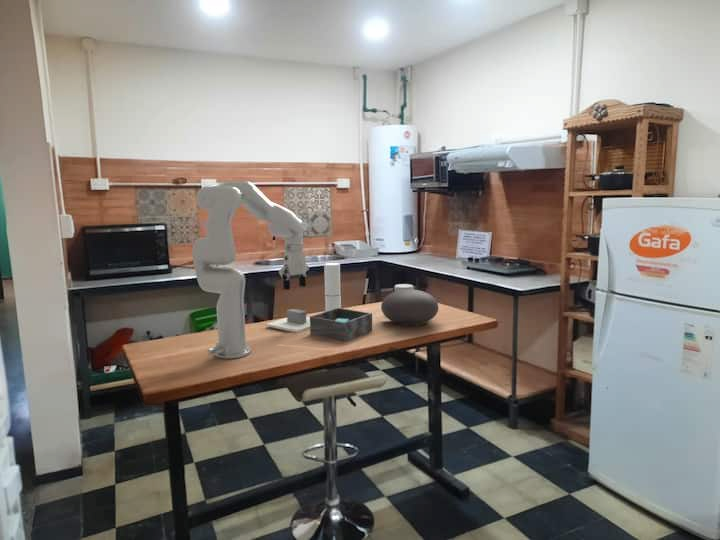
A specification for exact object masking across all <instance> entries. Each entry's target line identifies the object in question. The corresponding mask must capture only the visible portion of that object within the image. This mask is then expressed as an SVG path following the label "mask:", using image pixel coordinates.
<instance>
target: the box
mask: <svg viewBox="0 0 720 540" xmlns="http://www.w3.org/2000/svg"><path fill="white" fill-rule="evenodd" d="M309 317H310V330H309V332H310V335H313V336H316V337H317V336H318V337H323V338H326V339H327V338H328V339H332V340H336V341H341V342H348V341H350V340H352V339H355V338H357V337H359V336H360V337H361V336H362V335H364V334H368V333H369V332H372V331H373V312H367V311H359V310H355V309H354V310H353V309H349V308H342V307H341V308H336V309H333V310H329V311H323V312H320V313H317V314H315V315H311V316H309ZM337 318H340V319H349V321H347V322H340V321H335V320H336V319H337Z"/></svg>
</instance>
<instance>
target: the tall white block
mask: <svg viewBox="0 0 720 540" xmlns="http://www.w3.org/2000/svg"><path fill="white" fill-rule="evenodd" d="M323 269H324V271H323V272H324V276H323V277H324V303H325V304H324V305H325V308H324V309H325V311H324V312H326V311H329V310H333V309H336V308H342V303H341V300H342V298H341V295H342V294H341V264H340V262H339V263H338V262H327V263H324V264H323Z"/></svg>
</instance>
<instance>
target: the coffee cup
mask: <svg viewBox="0 0 720 540" xmlns="http://www.w3.org/2000/svg"><path fill="white" fill-rule="evenodd" d="M414 287H415V286H414V285H413V284H411V283H410V284H409V283H403V284H402V283H399V284H395V285H394V287H393V288H394V292H395V291H399V290H404V289H415V288H414Z"/></svg>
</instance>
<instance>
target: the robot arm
mask: <svg viewBox="0 0 720 540" xmlns="http://www.w3.org/2000/svg"><path fill="white" fill-rule="evenodd" d="M195 200H196V204H197V205H198V207H200V209H202V210H203V211H207V212H208V211H209V213H208V215H207V217H206V218H205V219H206V220H205V232H206V237H205V236H204V237H200V238H198V239H196V240H195V242H194V243H193V246H192V249H191V256H192V257H191V258H192V261H193V266H194V271H195V275H196V280H197V283H198V286H199V287H200V288H201V290H202V291H204V292H206V293H215V294H219V297H218V299H217V303H216V309H215V310H216V322H217V338H218V342H217V343H216V344H215V346H214V347H211V348H208V349H207V354H208V355H212V354H214V355H215V357H216V358H219V359H225V360H226V359H227V360H230V359H238V358H243V357H246V356H248V355H249V354H250V353H251V347H249V346H248V345H247V339H246V325H245V324H246V322H245V306H244V305H245V304H244V302H245V301H244V300H245V299H244V297H245V296H244V295H245V287H246V276H245V274H244V273H243V271H241V270H240V269H238V268H236V267H230V266H228V265H231V264H233V263H234V262H235V260H236V257H237V255H236V253H237V252H236V247H235V240H234V236H233V229H232V219H233V217H234V214H235V213H236V211H237V209H238V208H239V206H240V205H241V206H242V207H243V208H245V209H246V210H247V211H248V212H249V213H250V214H251V215H253V216H254V217H255V218H256V219H257V220H261V221H262V222H267V223H269V224H268V225H267V230H268V233H269V234H270V235H271V236H272V237H277V238H284V247H283V248H284V252H283V263H282V267H281V268H280V269H279V270H278V273H279V275H280V278H281V280H282V281H283V289H284V290H286V291H287V290H289V291H290V290H291V281H290V278H291V276H298V275H299V277H298V278H299V282H298V283H299V286H300V287H306V285H307V284H306V283H307V282H306V279H307V275H308V274H309V270H310V266H309V265H307V259H306V254H305V250H304V234H303V233H304V229H303V228H304V227H303V220H302V219H300V218H298V217H297V215H296V214H295V213H294V212H292V211H291V210H289V209H287V208H285V206H284V207H283V206H281V205H279V204H277V203H275V202H272V201H271V200H270V199H269V198H268V197H267V196H266V195H265V194H264V193H263V192H262V191H261V190H260V189H259V188H258V187H257V186H256V185H255V184H254V183H252V182H250V181H248V180H239V181H238V180H237V181H235V180H233V181H231V180H230V181H224V182H221V183H216V184H211V185H206V186H202V187H201V188H200V189H199V190H197V192H196V196H195ZM217 265H219V266H217ZM220 265H221V266H220ZM225 265H227V266H225Z"/></svg>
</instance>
